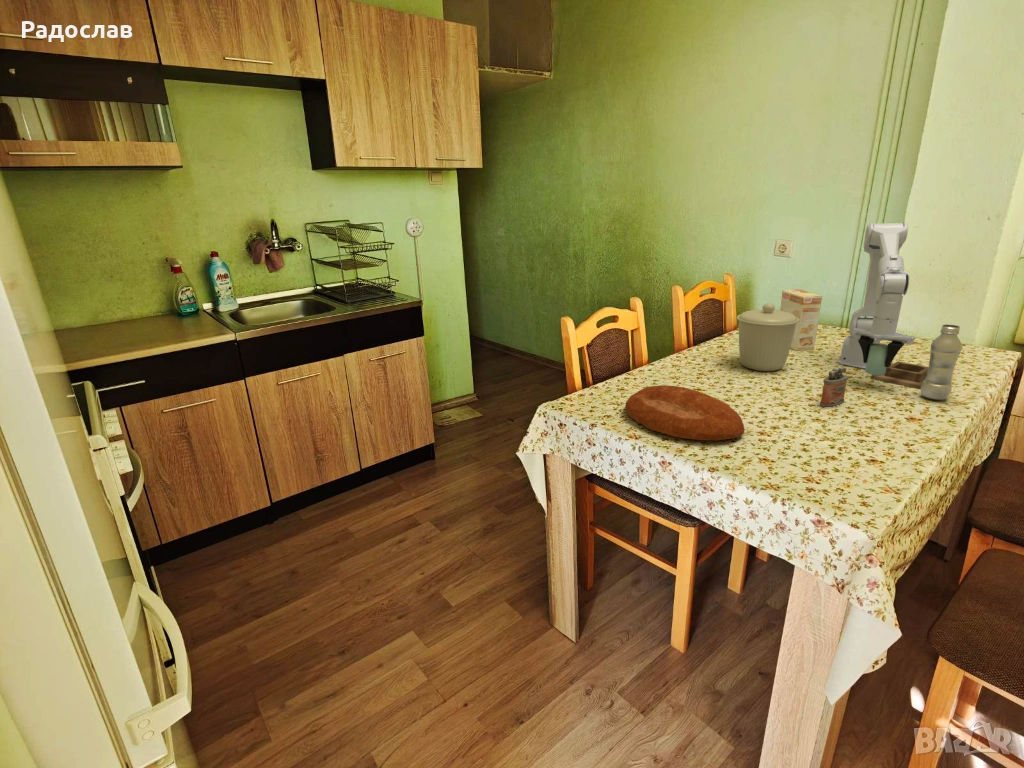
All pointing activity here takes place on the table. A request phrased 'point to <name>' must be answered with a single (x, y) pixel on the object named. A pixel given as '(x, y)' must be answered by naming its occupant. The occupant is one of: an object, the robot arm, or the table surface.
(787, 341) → the canister
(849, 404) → the table surface
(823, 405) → the lighter
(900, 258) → the robot arm
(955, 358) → the plastic bottle
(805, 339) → the coffeecake box
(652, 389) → the bread
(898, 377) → the brown piece
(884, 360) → the roll
